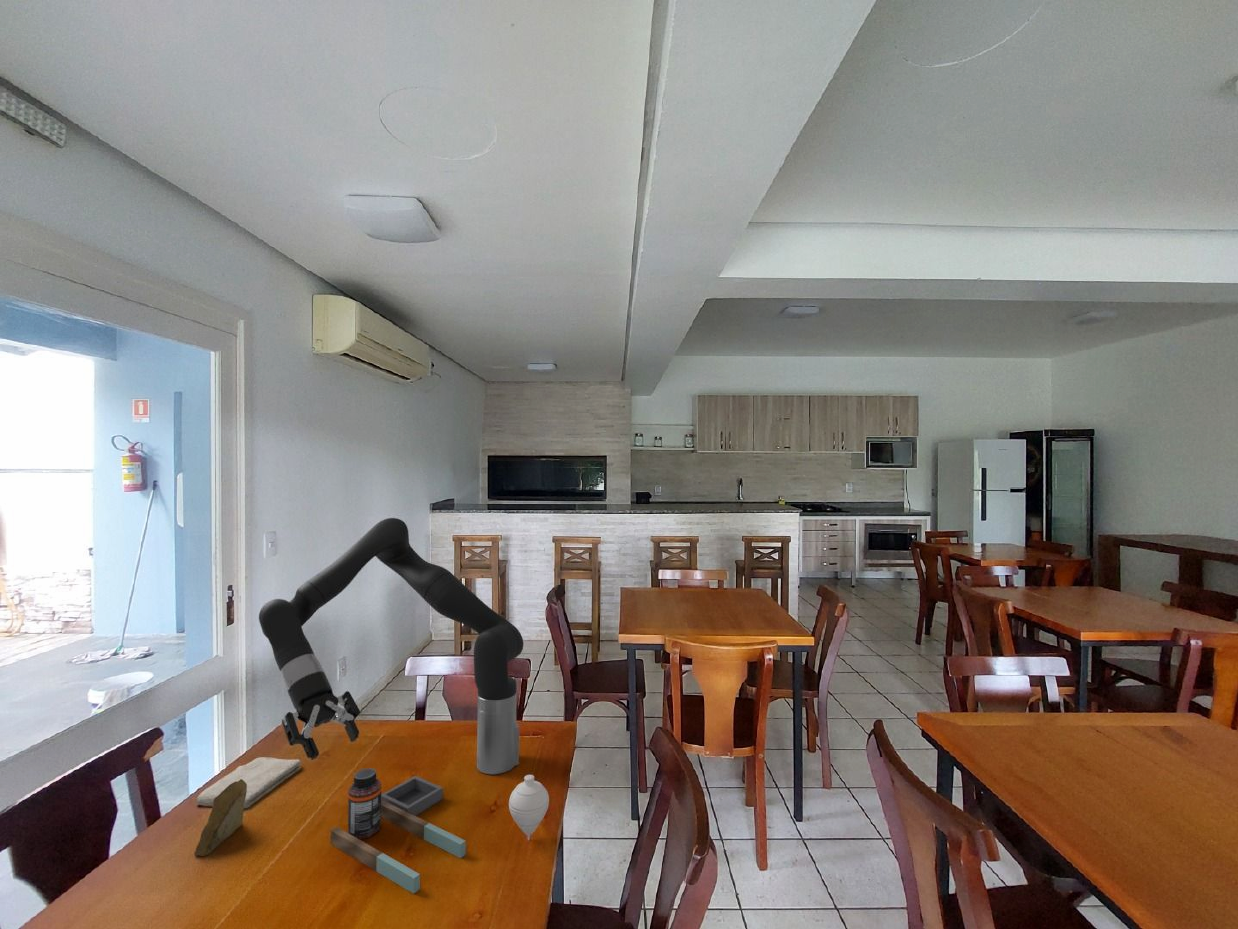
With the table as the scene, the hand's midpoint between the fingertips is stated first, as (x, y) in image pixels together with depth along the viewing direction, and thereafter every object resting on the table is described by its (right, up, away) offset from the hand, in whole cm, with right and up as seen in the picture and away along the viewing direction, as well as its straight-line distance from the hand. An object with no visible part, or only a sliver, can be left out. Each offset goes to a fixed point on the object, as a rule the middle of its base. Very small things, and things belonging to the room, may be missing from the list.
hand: (335, 748), depth 114 cm
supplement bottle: (+8, -14, -6) cm, 17 cm away
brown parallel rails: (+13, -13, -8) cm, 20 cm away
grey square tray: (+14, -14, +4) cm, 20 cm away
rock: (-19, -13, -8) cm, 24 cm away
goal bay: (+23, -13, -14) cm, 30 cm away
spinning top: (+41, -14, -8) cm, 44 cm away
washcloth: (-24, -14, +10) cm, 30 cm away
